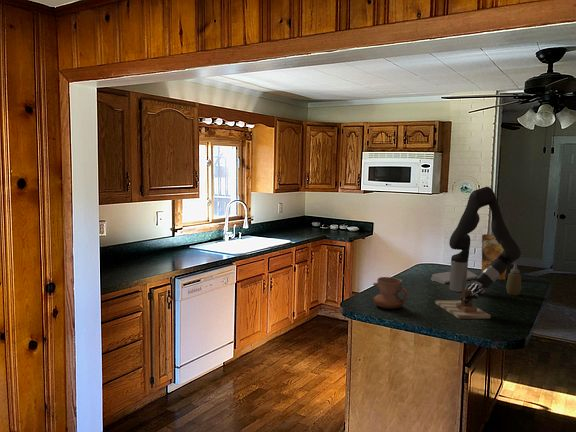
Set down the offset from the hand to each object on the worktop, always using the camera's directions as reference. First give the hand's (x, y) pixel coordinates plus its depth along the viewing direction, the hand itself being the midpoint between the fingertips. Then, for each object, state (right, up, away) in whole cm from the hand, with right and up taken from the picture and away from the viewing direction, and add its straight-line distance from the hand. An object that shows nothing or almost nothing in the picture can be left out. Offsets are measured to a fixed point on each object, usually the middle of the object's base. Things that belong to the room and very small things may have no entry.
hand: (463, 301), depth 240 cm
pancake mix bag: (+50, +1, +85) cm, 98 cm away
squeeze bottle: (+43, -3, +41) cm, 60 cm away
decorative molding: (+21, 0, +75) cm, 78 cm away
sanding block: (+2, -5, +1) cm, 5 cm away
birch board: (+1, -6, +5) cm, 8 cm away
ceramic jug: (-35, -4, +7) cm, 36 cm away
